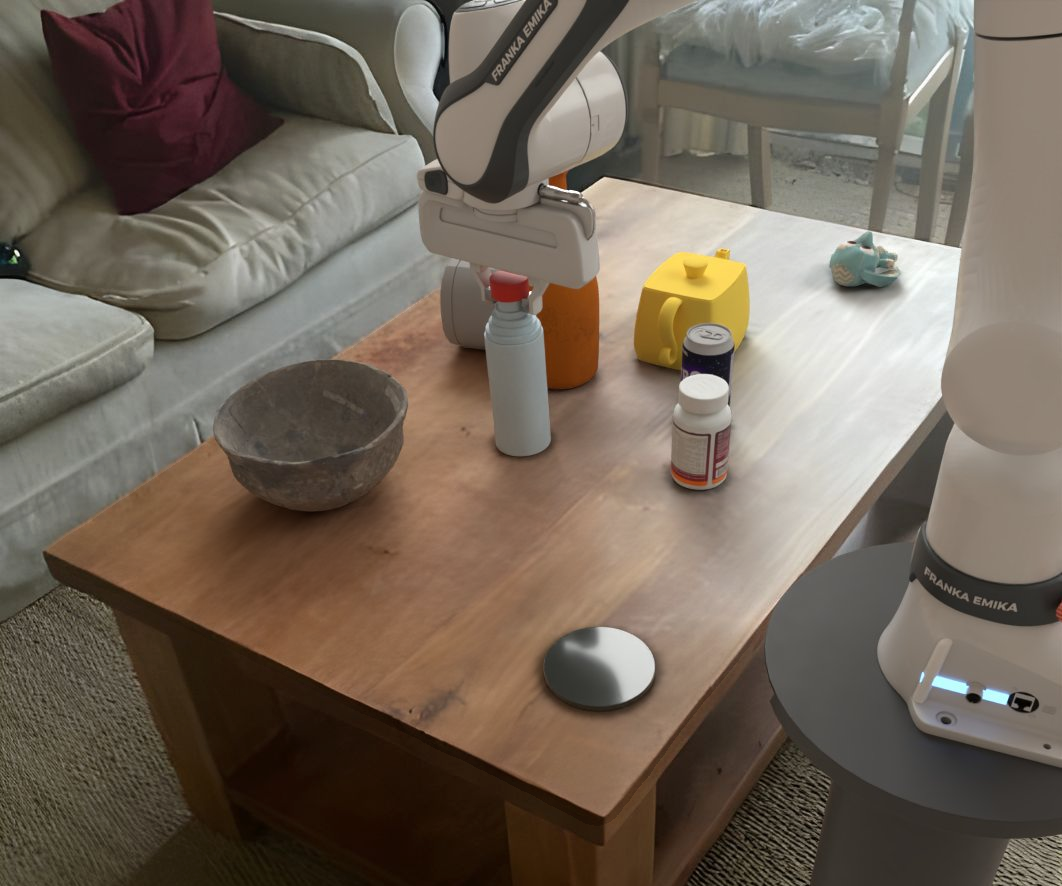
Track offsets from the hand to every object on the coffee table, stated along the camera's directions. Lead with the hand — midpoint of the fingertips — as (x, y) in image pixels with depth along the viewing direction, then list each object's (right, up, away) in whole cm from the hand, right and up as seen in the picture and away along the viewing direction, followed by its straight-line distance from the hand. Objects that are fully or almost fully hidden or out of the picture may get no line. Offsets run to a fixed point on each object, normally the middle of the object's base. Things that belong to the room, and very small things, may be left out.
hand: (511, 306), depth 116 cm
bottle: (+1, -13, +11) cm, 17 cm away
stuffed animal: (+49, +13, +38) cm, 63 cm away
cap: (0, +2, -2) cm, 3 cm away
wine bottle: (+6, -3, +22) cm, 23 cm away
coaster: (+8, -37, -18) cm, 42 cm away
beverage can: (+22, -11, +12) cm, 27 cm away
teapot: (+23, +1, +26) cm, 35 cm away
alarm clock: (-2, +4, +32) cm, 32 cm away
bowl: (-21, -18, +6) cm, 29 cm away
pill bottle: (+20, -18, +4) cm, 27 cm away
